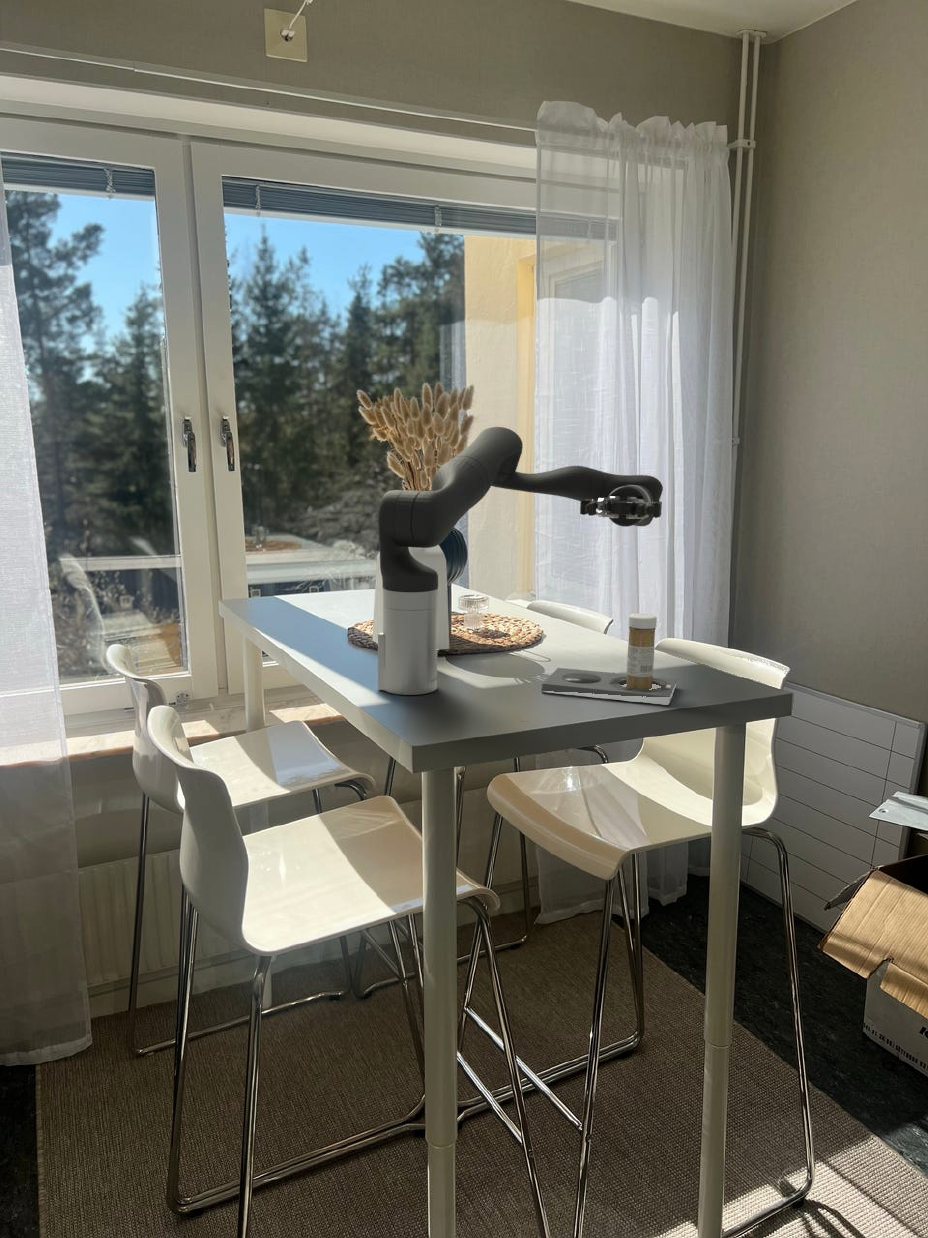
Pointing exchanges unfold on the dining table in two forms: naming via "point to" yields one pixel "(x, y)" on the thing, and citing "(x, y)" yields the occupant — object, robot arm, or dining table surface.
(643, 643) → the sprinkles bottle
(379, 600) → the milk
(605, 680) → the socket board
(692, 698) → the dining table surface
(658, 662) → the dining table surface
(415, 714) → the dining table surface
